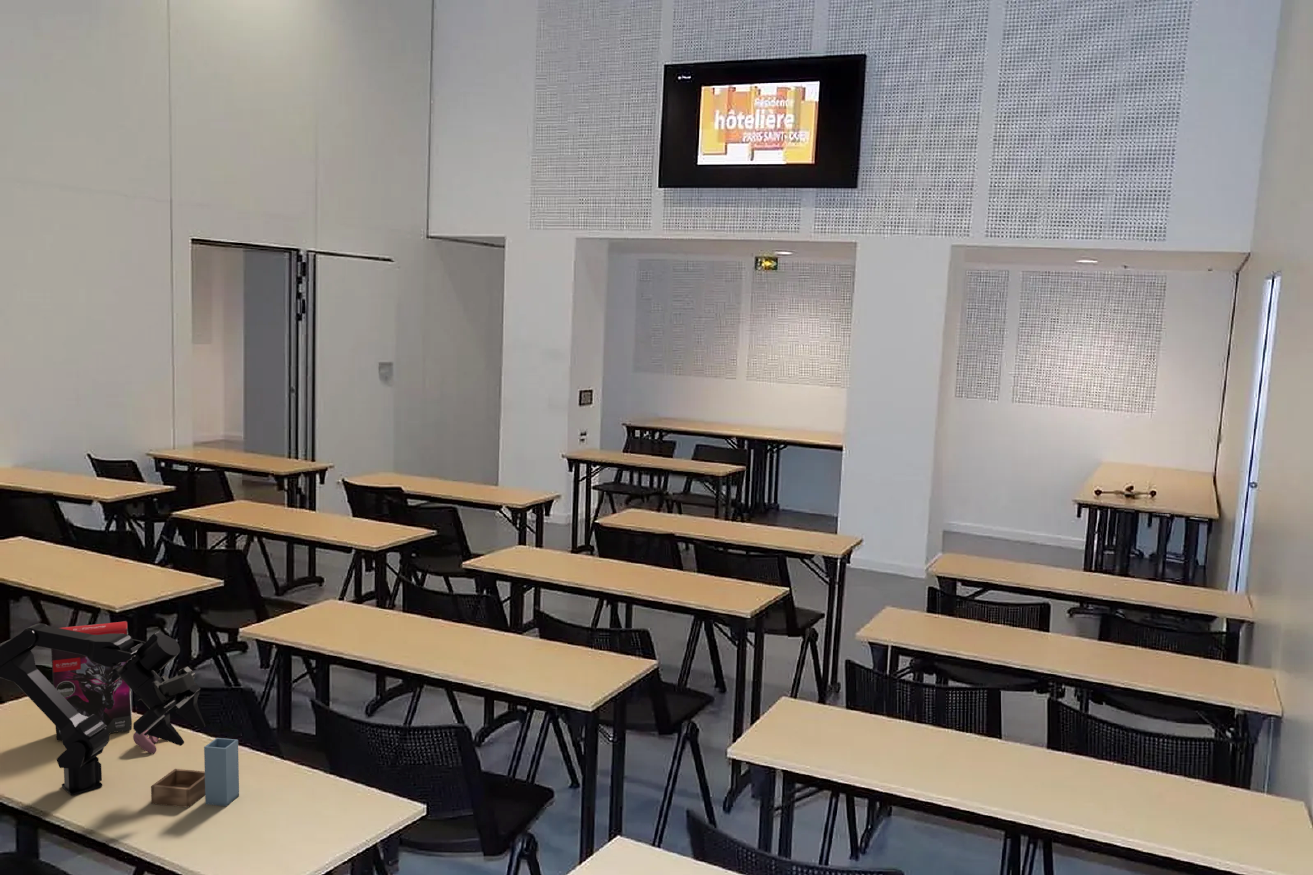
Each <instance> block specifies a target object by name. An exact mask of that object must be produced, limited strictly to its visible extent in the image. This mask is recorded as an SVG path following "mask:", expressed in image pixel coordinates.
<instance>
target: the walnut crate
mask: <svg viewBox="0 0 1313 875" xmlns="http://www.w3.org/2000/svg"><path fill="white" fill-rule="evenodd" d="M150 794H151V795H150V797H151V804H152V805H160V806H161V805H162V806H172V807H180V808H181V807H184V808H191V807H192V806H193V805H195V804H196V803H197V802H198V801H200V800H201V799H202V798H203V797H205V770H194V769H182V768H181V769H180V768H174V769H172V770H171V771H170V772H168V773H167V774H166V775H164V776H163V777H162V778H160V779H159V780H157V781H156V782H155V783H153V784H152V785H151V786H150Z"/></svg>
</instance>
